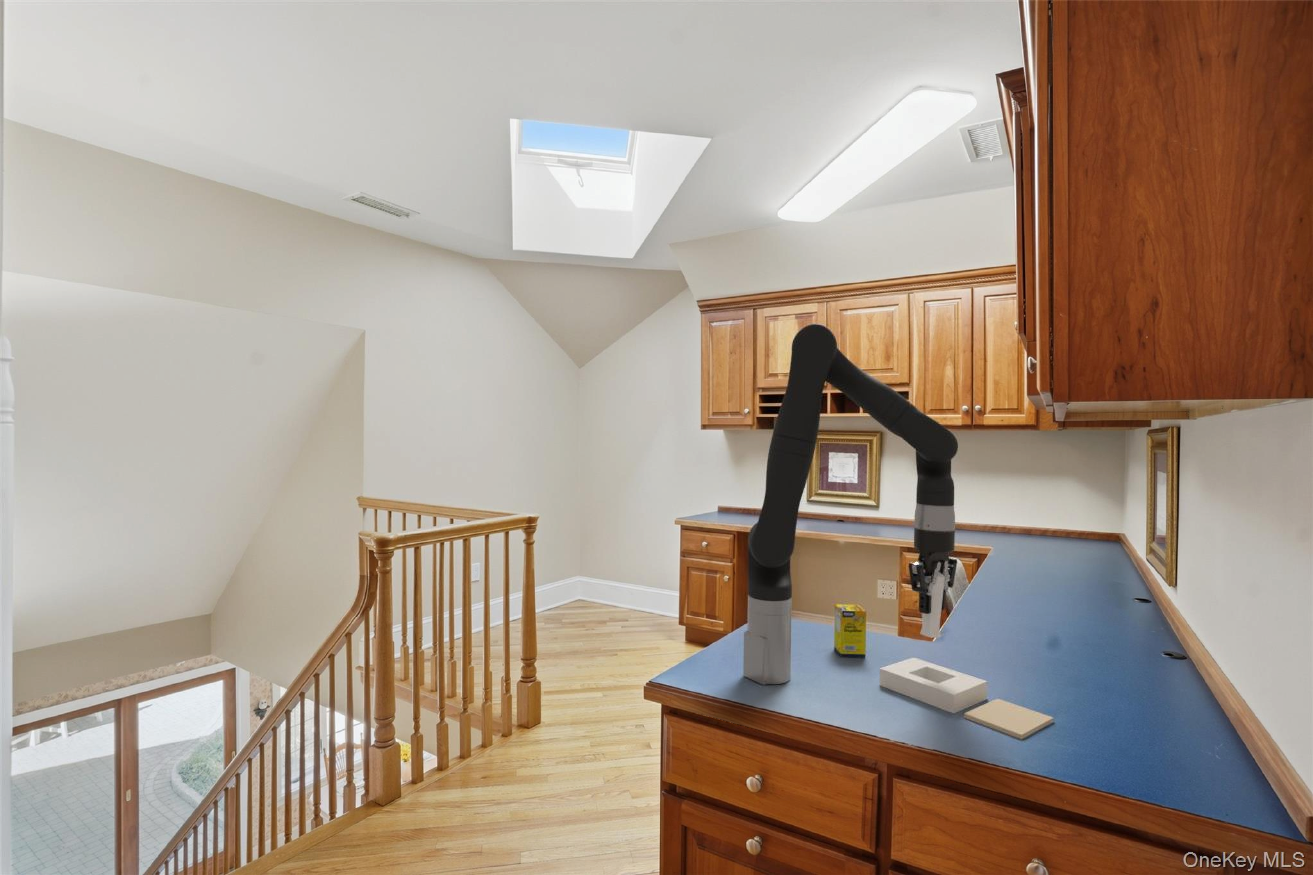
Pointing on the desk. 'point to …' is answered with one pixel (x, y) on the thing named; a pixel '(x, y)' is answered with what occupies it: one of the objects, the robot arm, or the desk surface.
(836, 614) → the supplement box
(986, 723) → the mat
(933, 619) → the perfume bottle
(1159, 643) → the desk surface
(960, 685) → the rectangular block
